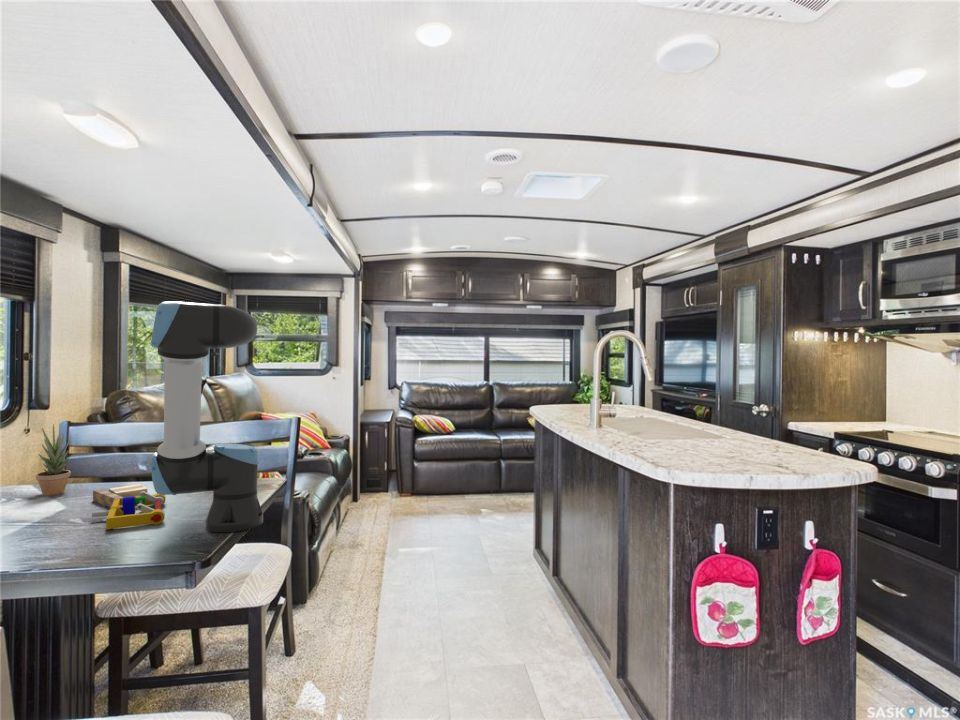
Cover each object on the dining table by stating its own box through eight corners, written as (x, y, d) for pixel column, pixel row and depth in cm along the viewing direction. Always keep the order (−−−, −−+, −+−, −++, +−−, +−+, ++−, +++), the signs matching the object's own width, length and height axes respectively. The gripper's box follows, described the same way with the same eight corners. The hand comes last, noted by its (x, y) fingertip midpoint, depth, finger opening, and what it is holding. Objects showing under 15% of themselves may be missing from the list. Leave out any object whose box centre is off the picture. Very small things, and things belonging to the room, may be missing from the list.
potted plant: (29, 494, 180) (30, 423, 181) (60, 489, 189) (61, 421, 189) (46, 498, 177) (48, 425, 177) (77, 492, 185) (78, 422, 186)
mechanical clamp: (165, 482, 176) (164, 503, 150) (165, 500, 176) (164, 524, 150) (99, 488, 167) (85, 511, 141) (98, 507, 166) (85, 534, 141)
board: (124, 508, 166) (124, 497, 166) (115, 510, 164) (115, 499, 164) (101, 499, 176) (101, 489, 176) (92, 500, 174) (93, 490, 174)
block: (147, 500, 177) (147, 488, 177) (115, 505, 171) (116, 493, 171) (139, 495, 183) (139, 484, 183) (108, 500, 177) (109, 488, 177)
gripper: (200, 359, 184) (199, 426, 184) (161, 359, 173) (159, 429, 173) (211, 359, 180) (210, 428, 180) (172, 359, 169) (170, 431, 169)
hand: (185, 428), depth 176 cm, fingers closed
